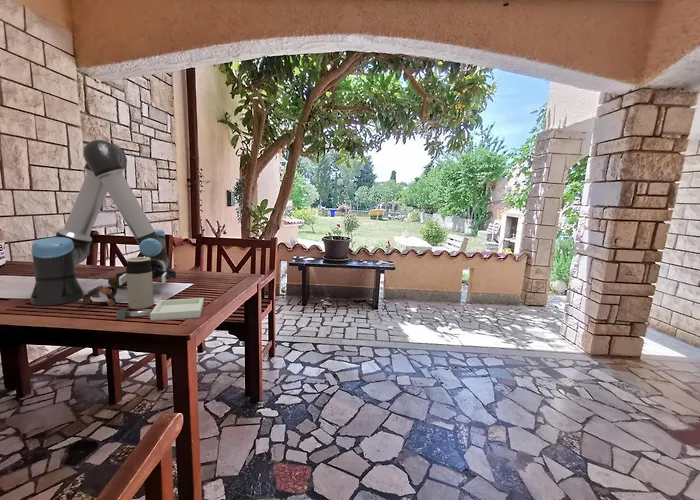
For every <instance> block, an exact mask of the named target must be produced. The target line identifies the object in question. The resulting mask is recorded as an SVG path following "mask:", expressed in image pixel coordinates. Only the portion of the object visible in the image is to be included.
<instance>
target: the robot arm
mask: <svg viewBox="0 0 700 500" xmlns="http://www.w3.org/2000/svg"><path fill="white" fill-rule="evenodd" d="M82 153H83V154H82V155H83V158H84V161H85V162H86V163H85V166H83V167H84V168H83V169H84V171H85V172H86V175H85V178H84V180H83V181H82V184H81V187H80V189H79V192H78V194H77V195H76V198H75V201H74V204H73V206H72V207H71V211H70V213H69V215H68V217H67V219H66V222H65V224H64V227H63V228H60V229H58V230H57V231H56V234H55V235H54V237H47V238H41V239H38V240H37V239H36V240H35V241H33V243H32V244H31V254H32V264H33V271H34V281H35V282H34V287H33V289H32V293H31V295H30V303H31V305H33V306H40V307H42V306H43V307H45V306H57V305H58V306H59V305H64V304H69V303H73V302H74V303H75V302H77V301H79V300H83V299H82V298H81V297H82V296H83V295H84V290H83V288H82V286H81V285H80V283H79V281H78V279H77V273H76V266H77V265H80V264H82V263H83V262H84V261H85V260H86V259H87V258H88V256H89V255H90V251H91V250H90V245H91V244H92V241H93V238H92V237H91V232H92V229H93V228H94V226H95V223H96V220H97V218H98V216H99V213H100V210H101V208H102V207H103V204H104V201H105V199H106V197H107V194H108V195H109V196H110V198H111V200H112V202H113V203H114V204H115V206H116V208H117V210H118V212H119V213H120V215H121V217H122V219H123V220H124V221H125V223H126V225H127V227H128V229H129V230H130V232H131V233H132V235H133V237H134V239H135V240H136V243H137V245H138V249H139V251H140V253H141V254H142V255H143V257H149V258H151V259H150V262H149V263H150V265H151V266H152V280H156V279H158V278H161V284H165V283H166V282H167V280H170V279H171V278H172V279H176V278H177V272H176V270H173V269H172V268H171V269H170V267H169V266H170V259H169V258H168V252H167V245H166V236H165V231H164V229H154V227H153V226H152V223H151V222H150V220H149V218H148V216H147V214H146V213H145V211H144V209H143V208H142V206H141V204H140V202H139V201H138V199H137V197H136V195H135V194H134V191H133V190H132V187H131V186H130V185H129V183H128V181H127V179H126V177H125V175H124V174H123V173H124V171H125V169H126V167H127V165H128V158H127V156H126V154H125V151H123V150H122V148H120V147H119V146H117V145H115V144H113V143H111V142H110V141H108V140H104V139H94V140H91V141H89V142H88V143H86V145H85V146H84V148H83V150H82ZM124 271H125V272H124ZM124 271H121V272H117V273H115V276H116V280H119V285H122V284H124V283H125V282H126V281H127V276H126V270H124Z"/></svg>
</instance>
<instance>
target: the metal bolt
mask: <svg viewBox="0 0 700 500" xmlns="http://www.w3.org/2000/svg"><path fill="white" fill-rule="evenodd" d="M151 312H152V310H150V309H145V310H144V309H143V310H131V311H128V309H127V308H120V309H118V310H116V320H125V319H128V318H139V317H140V318H142V317H150V313H151Z"/></svg>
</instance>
